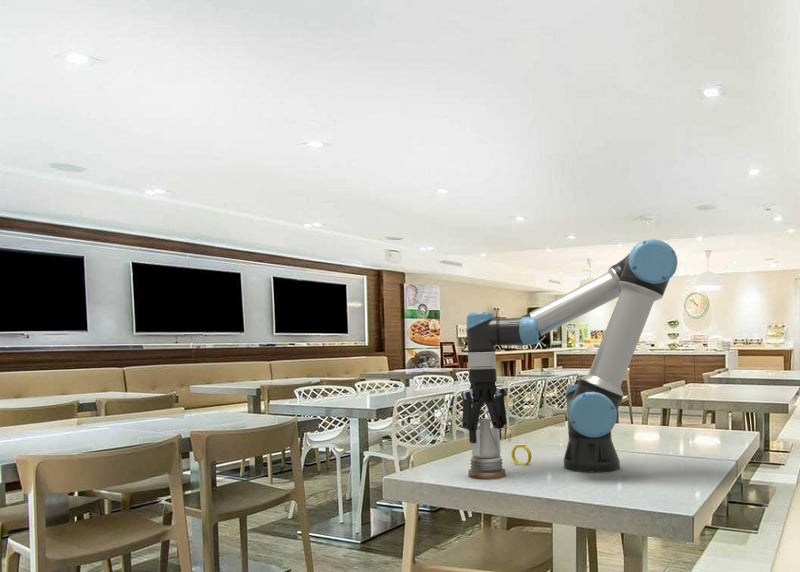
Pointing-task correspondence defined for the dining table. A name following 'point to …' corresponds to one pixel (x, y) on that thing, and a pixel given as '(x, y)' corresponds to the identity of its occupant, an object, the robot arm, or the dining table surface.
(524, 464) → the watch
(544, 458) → the dining table surface
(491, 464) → the pedestal
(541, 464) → the dining table surface
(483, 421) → the flask
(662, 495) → the dining table surface
